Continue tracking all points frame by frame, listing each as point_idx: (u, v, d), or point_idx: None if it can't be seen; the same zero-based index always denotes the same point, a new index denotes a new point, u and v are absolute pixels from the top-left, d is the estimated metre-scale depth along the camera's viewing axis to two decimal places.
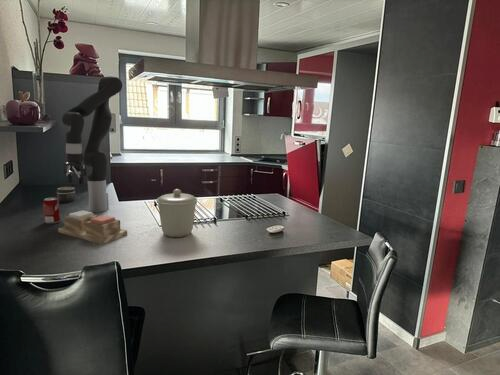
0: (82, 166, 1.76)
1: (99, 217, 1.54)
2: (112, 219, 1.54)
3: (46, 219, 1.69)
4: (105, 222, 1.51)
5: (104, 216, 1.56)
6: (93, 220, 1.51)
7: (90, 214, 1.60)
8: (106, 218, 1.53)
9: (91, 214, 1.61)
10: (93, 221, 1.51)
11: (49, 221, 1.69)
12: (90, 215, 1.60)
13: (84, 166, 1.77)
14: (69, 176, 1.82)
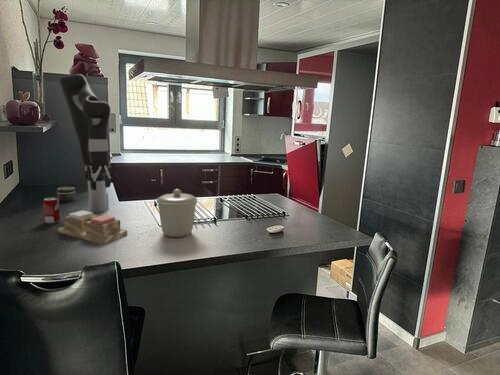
0: None
1: (99, 217, 1.54)
2: (112, 219, 1.54)
3: (46, 219, 1.69)
4: (105, 222, 1.51)
5: (104, 216, 1.56)
6: (93, 220, 1.51)
7: (90, 214, 1.60)
8: (106, 218, 1.53)
9: (91, 214, 1.61)
10: (93, 221, 1.51)
11: (49, 221, 1.69)
12: (90, 215, 1.60)
13: None
14: None
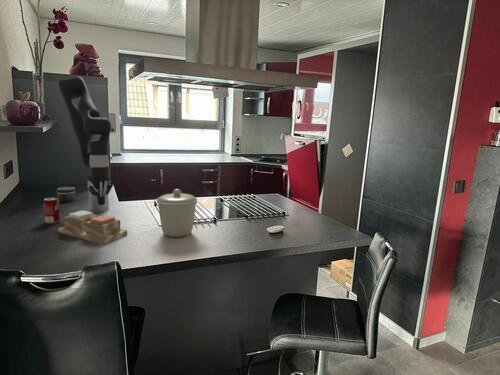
0: None
1: (99, 217, 1.54)
2: (112, 219, 1.54)
3: (46, 219, 1.69)
4: (105, 222, 1.51)
5: (104, 216, 1.56)
6: (93, 220, 1.51)
7: (90, 214, 1.60)
8: (106, 218, 1.53)
9: (91, 214, 1.61)
10: (93, 221, 1.51)
11: (49, 221, 1.69)
12: (90, 215, 1.60)
13: None
14: None
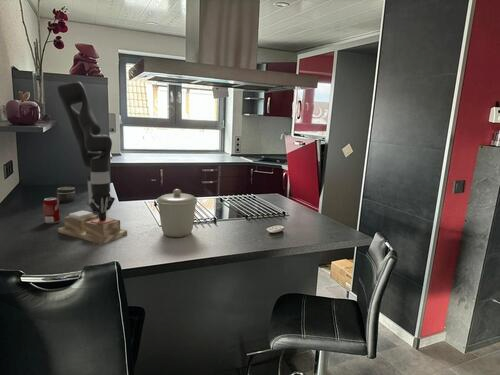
0: None
1: None
2: (112, 221, 1.54)
3: (46, 219, 1.69)
4: None
5: None
6: None
7: (90, 214, 1.60)
8: (106, 220, 1.53)
9: (91, 214, 1.61)
10: None
11: (49, 221, 1.69)
12: (90, 215, 1.60)
13: None
14: None
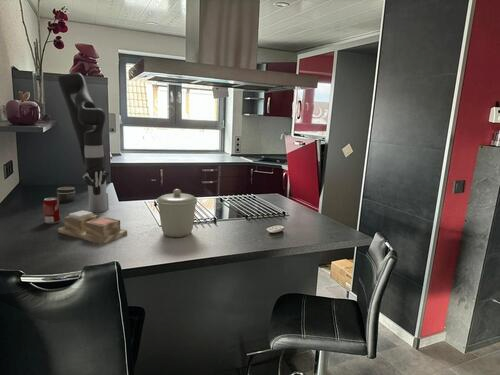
0: None
1: (100, 221, 1.54)
2: None
3: (46, 219, 1.69)
4: None
5: (104, 219, 1.56)
6: None
7: (90, 214, 1.60)
8: (106, 221, 1.53)
9: (91, 214, 1.61)
10: None
11: (49, 221, 1.69)
12: (90, 215, 1.60)
13: None
14: None
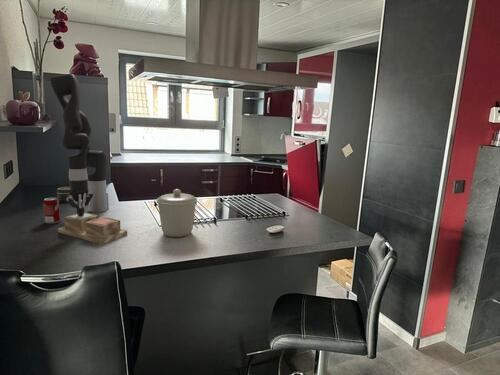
0: None
1: (100, 221, 1.54)
2: None
3: (46, 219, 1.69)
4: None
5: (104, 219, 1.56)
6: None
7: None
8: (106, 221, 1.53)
9: None
10: None
11: (49, 221, 1.69)
12: None
13: None
14: None
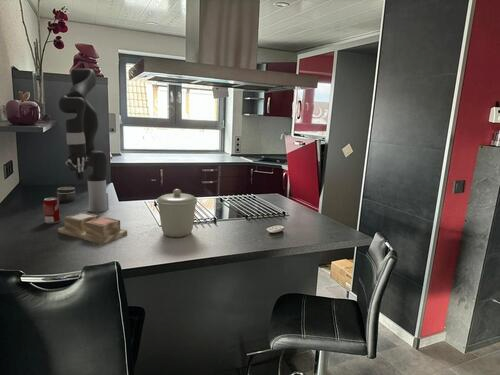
0: None
1: (100, 221, 1.54)
2: None
3: (46, 219, 1.69)
4: None
5: (104, 219, 1.56)
6: None
7: None
8: (106, 221, 1.53)
9: None
10: None
11: (49, 221, 1.69)
12: None
13: None
14: None
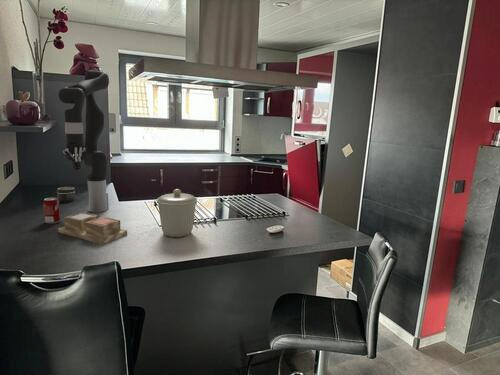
0: None
1: (100, 221, 1.54)
2: None
3: (46, 219, 1.69)
4: None
5: (104, 219, 1.56)
6: None
7: None
8: (106, 221, 1.53)
9: None
10: None
11: (49, 221, 1.69)
12: None
13: None
14: None
